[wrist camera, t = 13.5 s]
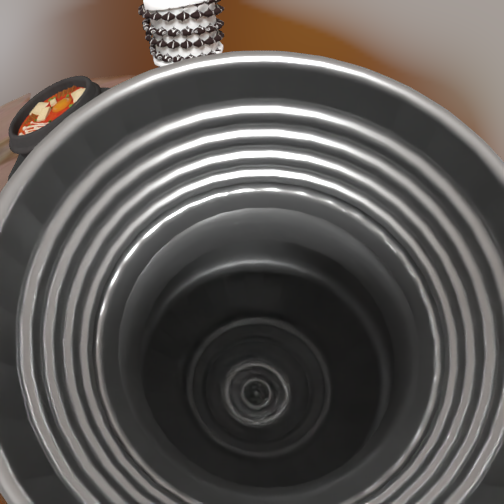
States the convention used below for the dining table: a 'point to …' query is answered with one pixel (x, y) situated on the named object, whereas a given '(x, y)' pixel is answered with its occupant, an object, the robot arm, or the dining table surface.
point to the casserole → (48, 113)
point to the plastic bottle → (254, 294)
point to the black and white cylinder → (182, 29)
